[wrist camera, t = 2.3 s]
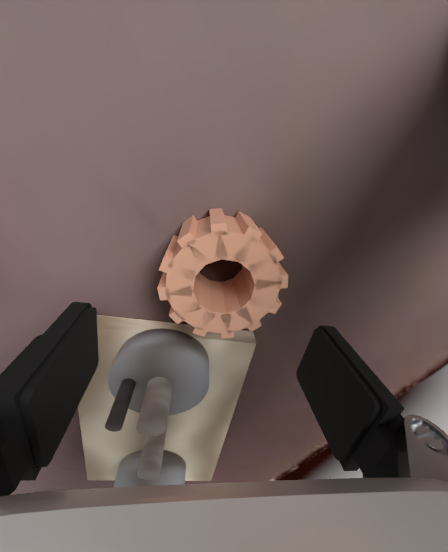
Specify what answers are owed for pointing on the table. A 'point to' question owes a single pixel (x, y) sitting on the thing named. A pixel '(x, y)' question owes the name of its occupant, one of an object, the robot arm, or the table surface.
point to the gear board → (182, 426)
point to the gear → (228, 294)
